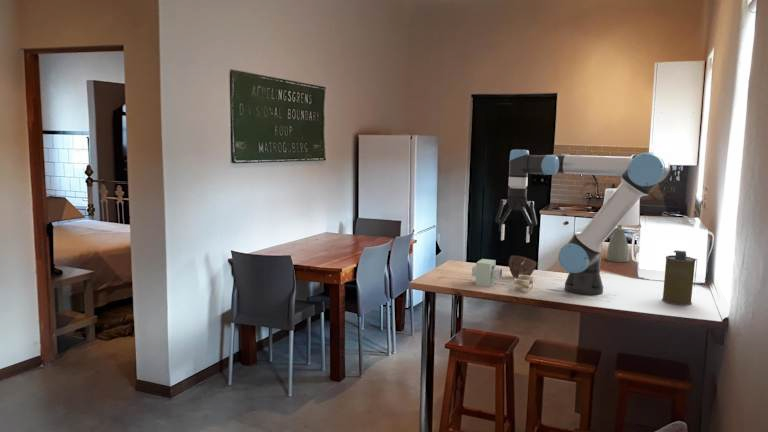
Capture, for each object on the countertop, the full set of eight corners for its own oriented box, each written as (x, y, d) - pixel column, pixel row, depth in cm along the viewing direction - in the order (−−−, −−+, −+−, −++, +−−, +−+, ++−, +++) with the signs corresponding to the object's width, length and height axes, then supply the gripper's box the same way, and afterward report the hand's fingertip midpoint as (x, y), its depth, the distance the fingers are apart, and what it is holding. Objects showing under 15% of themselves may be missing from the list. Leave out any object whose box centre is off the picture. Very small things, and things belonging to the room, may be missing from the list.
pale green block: (494, 282, 257) (495, 260, 256) (489, 286, 249) (490, 264, 248) (481, 280, 259) (482, 258, 258) (475, 285, 251) (476, 262, 250)
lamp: (592, 260, 310) (597, 189, 306) (605, 255, 325) (610, 187, 320) (629, 265, 299) (635, 192, 294) (641, 260, 313) (646, 190, 308)
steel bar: (501, 277, 253) (502, 268, 252) (499, 279, 249) (499, 270, 249) (474, 274, 258) (474, 265, 257) (471, 276, 254) (472, 267, 254)
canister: (659, 302, 231) (664, 251, 228) (664, 296, 240) (668, 247, 237) (691, 307, 225) (695, 255, 222) (694, 301, 234) (699, 251, 231)
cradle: (532, 286, 251) (533, 276, 251) (528, 292, 242) (528, 281, 241) (518, 284, 254) (519, 274, 253) (513, 290, 244) (513, 279, 243)
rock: (534, 265, 271) (541, 256, 263) (531, 285, 267) (537, 277, 258) (508, 257, 272) (513, 249, 263) (503, 277, 268) (509, 269, 259)
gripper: (546, 188, 243) (543, 242, 246) (493, 185, 252) (490, 237, 255) (543, 189, 236) (540, 244, 239) (488, 186, 245) (486, 239, 248)
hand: (514, 241), depth 247 cm, fingers open, 10 cm apart
